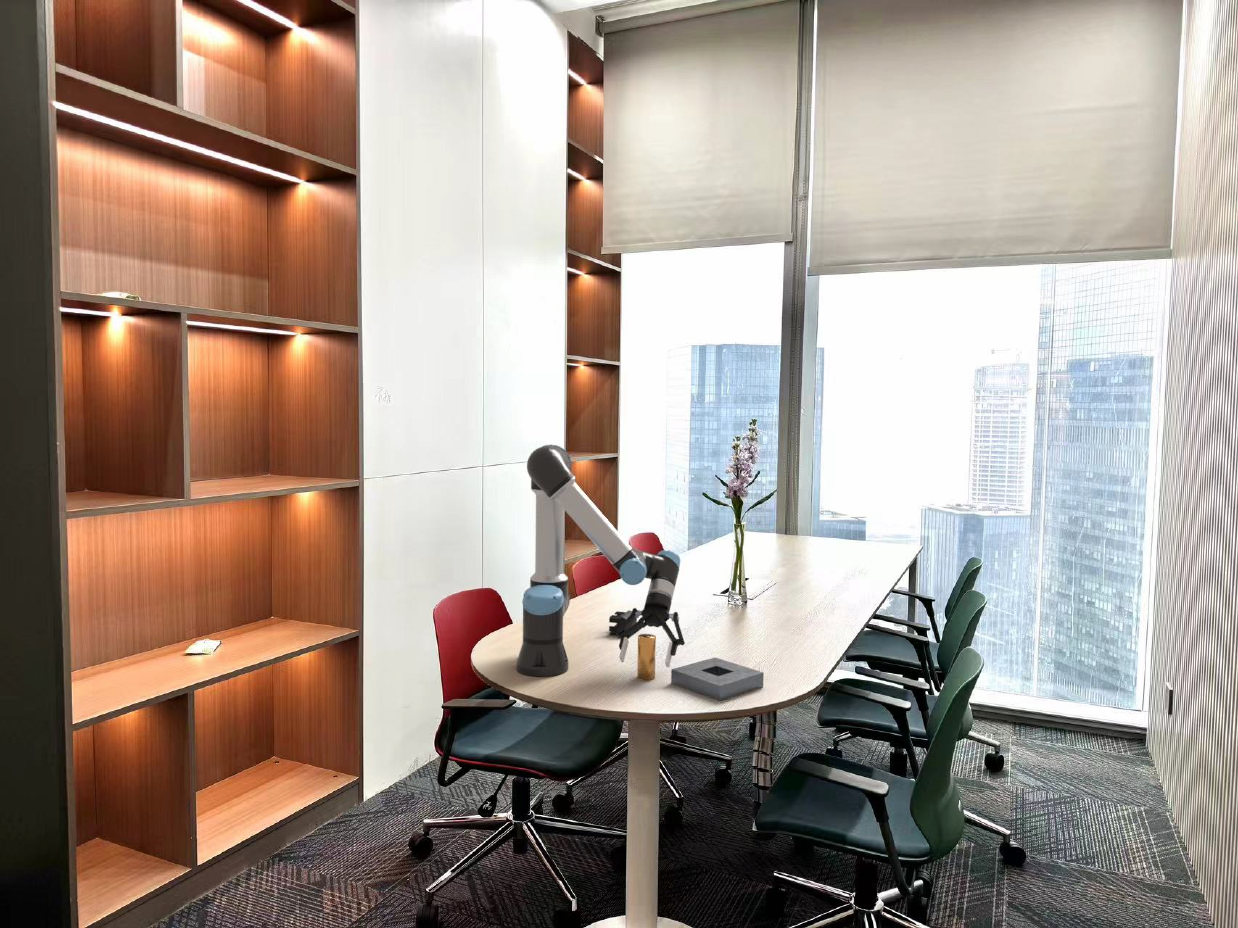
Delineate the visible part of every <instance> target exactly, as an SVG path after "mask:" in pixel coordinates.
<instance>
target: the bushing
mask: <svg viewBox="0 0 1238 928" xmlns="http://www.w3.org/2000/svg"><path fill="white" fill-rule="evenodd" d="M656 637H657V636H656V635H655V634H651V633H640V634H638V635H637V667H636V668H637V673H636V674H637V677H636V678H637V679H638V680H639V681H652V680H655V679H656V648H657V647H656V644H657V643H656Z"/></svg>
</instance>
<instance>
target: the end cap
mask: <svg viewBox="0 0 1238 928" xmlns="http://www.w3.org/2000/svg"><path fill="white" fill-rule="evenodd" d="M631 613H632V610H629V609H628V610H627V611H615V612H614V614H612V615H610V616H609V619H608V620H609V621H608V622H609V623H611V624H613V623H614V624H615V625H609V626H608V630H609V636H617V634H616V631H617V630H618V629H619V628H620V626H621V625H622V624H623V623H624V622H625V621H626V619H627V618H628V617H629V616H630V615H631ZM636 622H638V618H637V619H636V620H635V622H634V623H633V624H632V625H631V626H633V625H634V624H635V623H636ZM631 626H630V627H631Z"/></svg>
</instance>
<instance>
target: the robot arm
mask: <svg viewBox="0 0 1238 928" xmlns="http://www.w3.org/2000/svg"><path fill="white" fill-rule="evenodd" d="M568 453H569V452H567V451H566V450H565V449H564V448H562V447H561V446H559V445H557V444H546V445H543V446H540V447H537V448H536V449H534V450H533V451H532V452H531V453H530V454H529V457H528V459H527V461H526V470H527V473H528V475H529V476H528V477H530V489H531V492H533V493H534V494H535V555H534V557H535V559H534V560H535V563H534V565H535V567H534V569H535V571H534V573H533V574H532V575H531V577H529V579H530V580H529V581H530V583H529V584H530V585H529V587H528V588H527V589H526V590H525V591H524V593H523V595H522V597H523V598H522V643H521V644H522V645H521V647H520V650H519V653H518V658H517V660H516V666H515V667H516V668H515V669H516V671H517V672H518V673H520V674H522V675H526V676H531V677H551V676H556V675H562V674H563V673H566V672H567V671H568V670H569V659H568V656H567V651H566V649H565V646H564V643H563V640H564V639H563V638H564V637H563V635H564V632H563V631H564V616H565V614H566V612H567V610H568V609H569V606H570V603H571V602H570V601H571V598H570V597H571V596H570V592H569V577H568V576H567V575H566V574H565V572H564V551H565V549H564V547H565V545H564V543H565V542H564V540H565V538H564V537H565V536H564V534H565V532H564V530H565V525H564V524H565V521H564V520H565V513H567V515H568V516H569V517H570V518H571V519H572V520H573V521H574V523H575V524H577V526H578V527H579V528H580V530H582V532H583V533H584V534H585V536H586V537H588V539H589V540H590V541H591V542H592V543H593V545H594V546H595V547H596V548H597V549H598V550H599V552H601V554H602V555H603V556H604V557H605V558H606V559H607V560H608V562H609V563H610V564H611V565H612V566H613V568H614V569H615V570H616V571H617V572H618V574H619V576H620V578H621V580H622V581H623V582H624V583H625V584H627V585H629V586H637V585H639V584H641V583H642V582H643V581H644V580H645V579H649V580H650V583H649V587H648V590H647V595H646V599H645V603H644V605H643V606H644V607H643V609H641V610H639V609H637V607H633V608H632V610H631V611H632V613H631V615H630V616H629V617H628V618H627V619H626V621H625V622H624V623H623V624H622V625H621V626H620V628H619V629H618V630H617V631H616V634H617V639H619V640H620V641H619V645H618V648H619V650H620V653H619V657H618V658H619V661H620V663H624V662H625V659H626V655H627V651H628V648H629V639H630V638H631V637H632V636H634V635H635V634H637V633H638V632H639V631H640V630H642V629H644V628H646V627H647V626H648V627H655V628H660V627H662V629H663V630H664V632H665V633H666V635H667V636H668V638H669V640H670V641H669V642H668V647H667V652H666V657H665V661H664V664H665V666H666V668H670V666H671V660H672V657H673V656H674V657H675V656H676V654H677V650H678V647H679V646H684V645H685V644H686V643H685V639H684V637H683V633H682V630H681V626H680V622H679V621H680V617H679V614H678V611H674V612H673V613H670V610H671V606H672V600H673V597H674V594H675V589H676V584H677V580H678V576H679V572H680V567H681V558H680V556H679V554H677V553H676V552H675V551H673V550H665V549H664V550H663V549H662V550H661V551H658V553H657V554H652V553H649V552H646V551H643V550H639V549H637V548H634V547H631V545H630V544H629V543H628V542H627V540H625V538H624V537H623V536H622V534H620V533H619V530H617V529H616V528H615V526H614V525H613V524H612V523H611V522H610V520H609V519H607V518H606V516H605V515H604V514H603V513H602V512H601V511H600V510H599V508H598V507H597V506H596V505H595V503H593V501H592V500H591V499H590V498H589V496H588V495H586V493H585V492H584V491H583V489H581V487H580V486H579V484H577V482H576V476H575V475H574V474H573V472H572V471H571V469H572V460H571V457H570V455H569V454H568ZM639 617H640V618H639ZM636 619H637V622H636V623H635V624H634V625H633V626H631V625H632V624H633V623H634V622H635V620H636ZM670 619H671V621H672V622H673V624H674V627H675V630H676V633H677V637H678V638H677V637H675V634H674V633H673V632H672V629H671V628H670V627H669V625H668V624H667V622H668V620H670ZM630 626H631V627H630Z"/></svg>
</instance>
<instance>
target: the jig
mask: <svg viewBox="0 0 1238 928" xmlns="http://www.w3.org/2000/svg"><path fill="white" fill-rule="evenodd" d="M670 672H671V673H670V684H672V685H674V686H677V687H680V688H683V689H686V690H688V691H691V692H695V693H697V694H699V695H701V696H705V697H708V698H710V699H713V700H717V701H719V702H721V701H724V700H727V699H729V698H730V699H731V698H732V697H733V698H734V697H736V696H738V695H742V694H745V693H748V692H752V691H754V690H757V689H760V688H763V687H764V672H763V671H760V670H756V669H754V668H750V667H747V666H744V665H741V664H737V663H734V662H731V661H728V660H724V659H721V658H719V657H711V658H707V659H704V660H703V659H702V660H701V661H696V662H694V663H690V664H686V665H682V666H678V667H675V668H671V671H670Z"/></svg>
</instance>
